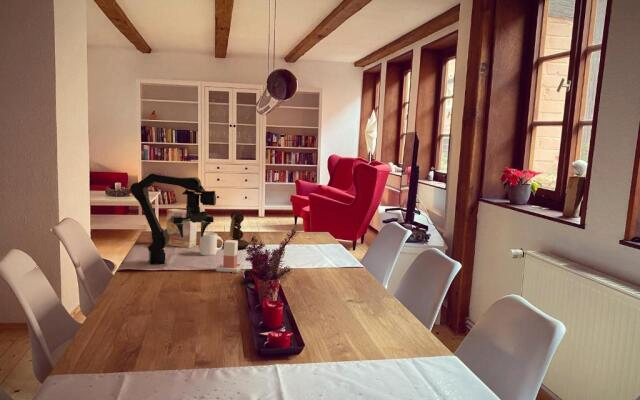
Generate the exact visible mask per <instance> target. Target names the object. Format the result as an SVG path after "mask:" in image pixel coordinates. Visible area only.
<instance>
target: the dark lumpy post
mask: <svg viewBox="0 0 640 400" xmlns="http://www.w3.org/2000/svg"><path fill="white" fill-rule="evenodd" d="M230 218H231V221H230V227H229V236H230V238H232V239H229V240H236V241H238V248H239V249H240V248H246V247H247V246H248V245H249V246H250V242H249V241H247V240H244V239H243V237H244V231H242V229H241V228H242V223H243V221H244V219H245V217H244V215H243V213H242V212H241V213H240V212H239V211H236V210H233V211H232V212H231V213H230ZM225 241H226V240H223V246H222V247H224V242H225ZM249 246H248V247H249Z"/></svg>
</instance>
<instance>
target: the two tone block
mask: <svg viewBox="0 0 640 400" xmlns="http://www.w3.org/2000/svg"><path fill="white" fill-rule="evenodd" d="M224 241H225V242H224ZM224 241H223V242H224V246H223V261H222V263H223V267H225V268H236V267H237V264H238V241H236V240H230V239H226V240H224Z"/></svg>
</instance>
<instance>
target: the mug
mask: <svg viewBox="0 0 640 400" xmlns="http://www.w3.org/2000/svg"><path fill="white" fill-rule="evenodd" d="M219 240H220V241H221V246H220V247H218V246H217V245H218V241H219ZM223 242H224V240H223V239H222V237H220V236H219V235H218V233H217V232H212V231H207V232H205V231H204V234H203V236H202V237H201V232H200V234H199V255H201V256H205V257H207V256H208V257H212V256H215V255H216V254H217V253H218V251H220V250H222V248H223V247H224V246H223Z"/></svg>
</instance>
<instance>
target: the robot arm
mask: <svg viewBox="0 0 640 400" xmlns="http://www.w3.org/2000/svg"><path fill="white" fill-rule="evenodd" d="M155 183H157V184H158V183H160V184H164V185H172V186H179V187H181V188H183V189H185V191H183V192H182V193H181V195H183V196H184V195H185V196H186V205H185V210H186V217H181V216H172V217H171V222H172V223H174V224H175V225H177V227H178V230H179V232H180V235H181V238H183V224H182V222H183V221H192V222H193V223H195V222H197V223H200V233H201V237H202V236H203V234H204V232H205V231H206V229H207V227H208V226H209V225H211V224H212V223H214V222H215V221H214V216H212V215H210V214H208V213H207V211H205V210H204V211H201V207H200V204H202V206H216V205H217V204H216V203H217V194H216V190H206V189H205V188H204V187H203V185H202V182H201V179H200V178H199V177H196V176H193V177H192V176H188V177H187V176H185V177H180V176H173V175H166V174H161V173H156V172H152V173H150V174H148V175H147V176H146V177H144V178H142V179H141V180H140V181H139V182H134V183H132V184H131V185H130V187H129V189H130V190H129V191H130V193H131V194H132V196H133V197H134V199H135V200H136V201H137V202H138V203H139V206H140V208H141V210H142V212H143V214H144V216H145V219H146V221H147V224H148V226H149V228H150V231H151V240H152V243H151V244H150V245H148V247H147V249H148V260H147V262H148V264H149V265H161V264H163V265H164V264H165V263H166V252H165V247H166V246H168V245H167V244H168V243H169V237H170V236H169V235H168V232H167V229H166V228H165V229H164V228H162V226H161V224H160V221H159V220H158V217H157V214H156V213H155V210H154V207H153V206H152V202H151V200H150V194H149V188H150V187H151V186H152V185H153V184H155Z"/></svg>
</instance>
